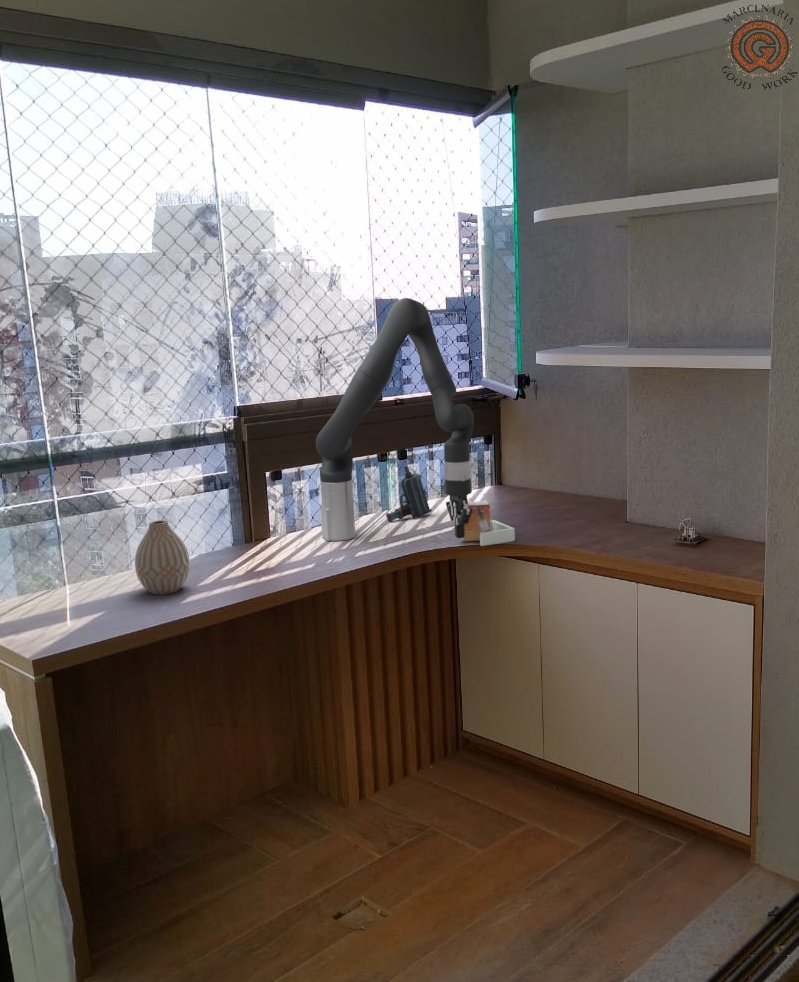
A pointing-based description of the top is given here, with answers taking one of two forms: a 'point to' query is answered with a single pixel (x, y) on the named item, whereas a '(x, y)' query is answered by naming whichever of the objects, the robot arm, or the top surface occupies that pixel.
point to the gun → (411, 498)
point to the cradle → (497, 534)
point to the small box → (477, 521)
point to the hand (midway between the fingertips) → (459, 537)
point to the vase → (162, 559)
